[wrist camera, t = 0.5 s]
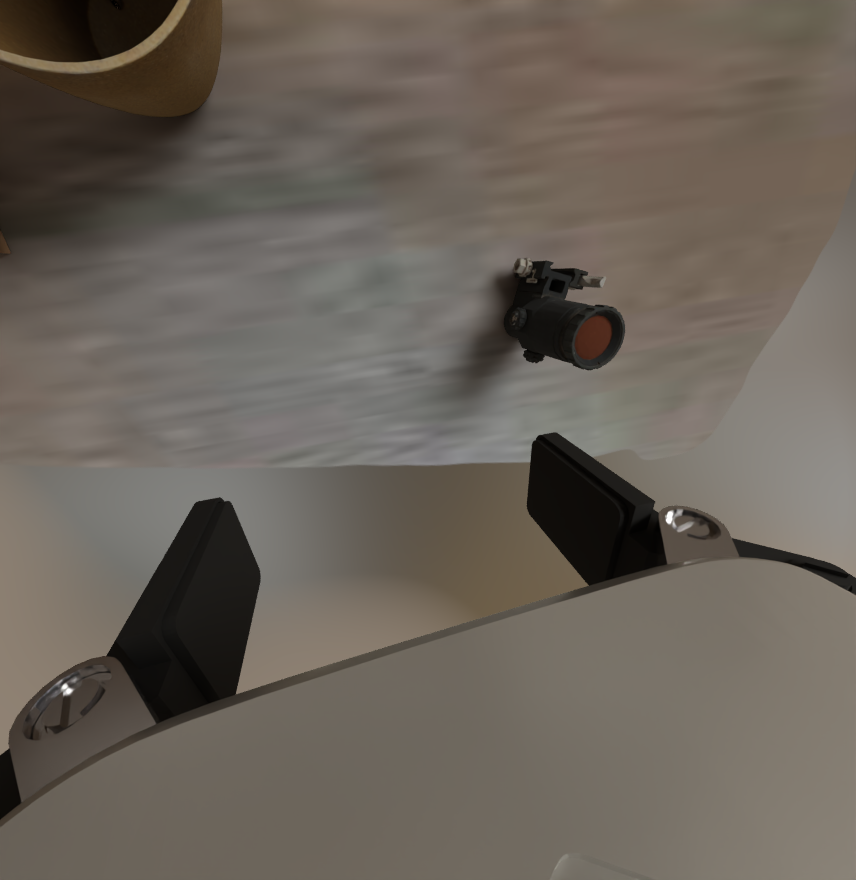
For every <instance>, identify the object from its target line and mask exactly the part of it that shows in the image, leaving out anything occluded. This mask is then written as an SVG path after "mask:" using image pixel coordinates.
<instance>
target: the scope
mask: <svg viewBox="0 0 856 880" xmlns="http://www.w3.org/2000/svg"><path fill="white" fill-rule="evenodd" d="M552 264H553V262H550V261H534V262H531V259H528V258H524V259H517V261H516V262H515V264H514V268H513V270H514V272H515V273H516V275H515V277H516V278H522V279H521V281H520V283H519V285H518V289H517V292H516V295H515V299H514V302H513V305H512V306H511V307H510V308H509V309H508V311H507V313H506V315H505V318H504V327H505V330H506V332H507V333H508V334H509V335H510V336H512V337H515V338H518V340H519V342H520V344H521V346H522V348H524V349H527V350H525V351H524V354H523V356H524V357H525V358H526V360H527V361H529V362H532V363H533V362H535V363H538V362H539V361H543V358H544V357H545V356H549V357H552V358H555V359H558V360H561V361H565V362H568V363H572V364H573V366H576V367H578V368H581V369H586V370H593V369H598V368H600V367H602V366H603V365H605V364H607V363H608V362H609V361H611V359H612V358H613V357H614V356H615V355H616V354H617V352H618V351H619V349H620V347H621V345H622V343H623V339H624V334H625V324H624V320H623V318H622V315H621V313H620V312H618V311H617V309H616V308H614V307H609V306H607V305H595V306H591V305H587V304H582V303H577V302H571V301H566V300H564V299H565V298H566V295H567V292H568V289H571V290H575V289H583V287H597V288H602V287H603V284H604V282H605V279H606V277H590V276H587V275H588V272H586V271H582V270H579V269H576V268H569V269H551V268H550V266H551V265H552ZM582 275H583V276H582ZM544 355H545V356H544Z"/></svg>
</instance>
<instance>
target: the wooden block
mask: <svg viewBox="0 0 856 880" xmlns="http://www.w3.org/2000/svg"><path fill="white" fill-rule="evenodd" d="M0 253H9V254H11V252H10V250H9V248H8V246H7V243H6V241H5V239H4V237H3V234H2V232H1V230H0Z"/></svg>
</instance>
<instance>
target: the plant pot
mask: <svg viewBox="0 0 856 880" xmlns="http://www.w3.org/2000/svg"><path fill="white" fill-rule="evenodd" d="M113 1H116V2H117V3H118V4H119V7H120V9H117V8H116V7H115V6H114V4H113ZM221 39H222V0H0V64H1V65H3V66H6V67H8V68H10V69H12V70H14V71H16V72H19V73H21V74H23V75H25V76H27V77H30V78H32V79H34V80H37V81H39V82H41V83H44V84H46V85H48V86H51V87H53V88H56V89H58V90H61V91H63V92H66V93H68V94H71V95H74V96H76V97H79V98H82V99H85V100H88V101H91V102H93V103H96V104H99V105H103V106H106V107H110V108H113V109H117V110H121V111H125V112H129V113H133V114H138V115H145V116H154V117H174V116H181V115H185V114H188V113H191V112H193V111H194V110H196V109H197V108H199V107H200V106H201V105H202V104H203V103H204V102H205V101H206V99H207V98H208V96H209V94H210V92H211V90H212V88H213V85H214V82H215V79H216V75H217V71H218V66H219V60H220V52H221Z"/></svg>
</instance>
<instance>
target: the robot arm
mask: <svg viewBox="0 0 856 880" xmlns="http://www.w3.org/2000/svg"><path fill="white" fill-rule="evenodd" d="M654 503H655V501H654V500H652V499H651V498H649V497H648V496H647V495H645V494H644V493H642V492H641V491H639V490H638V489H636V488H635V487H634V486H632V485H631V484H629V483H628V482H627V481H625V480H624V479H622V478H621V477H619V476H618V475H617V474H615V473H614V472H612V471H611V470H609V469H608V468H606V467H605V466H604V465H602V464H601V463H599V462H598V461H596V460H595V459H594V458H592V457H591V456H589V455H588V454H586V453H585V452H584V451H582V450H581V449H579V448H578V447H576V446H575V445H574V444H572V443H571V442H569V441H568V440H566V439H565V438H564V437H562V436H561V435H559V434H558V433H556V432H555V433H549V434H544V435H539V436H538V437H537V438H536V440H535V441H533V443H532V451H531V462H530V474H529V486H528V497H527V509H528V512H529V514H530V515H531V517H532V518H533V519H534V520H535V522H536V523H537V524H538V525H539V526H540V528H541V529H542V530H543V531H544V532H545V534H546V535H547V536H548V537H549V538H550V539H551V541H552V542H553V543H554V544H555V546H556V547H557V548H558V549H559V550H560V552H561V553H562V554H563V555H564V556H565V558H566V559H567V560H568V561H569V562H570V564H571V565H572V566H573V567H574V568H575V570H576V571H577V572H578V573H579V574H580V575H581V577H582V578H583V579H584V580H585V582H586V583H587V584H588V585H589V586H587V587H584V588H580V589H577V590H573V591H570V592H567V593H563V594H560V595H557V596H553V597H550V598H547V599H543V600H540V601H536V602H533V603H530V604H526V605H523V606H520V607H516V608H513V609H510V610H506V611H503V612H500V613H497V614H493V615H490V616H487V617H483V618H480V619H477V620H473V621H470V622H467V623H463V624H460V625H457V626H454V627H450V628H447V629H444V630H440V631H437V632H434V633H431V634H427V635H424V636H421V637H417V638H414V639H411V640H408V641H404V642H401V643H398V644H395V645H392V646H388V647H385V648H382V649H378V650H375V651H372V652H369V653H366V654H362V655H359V656H356V657H353V658H349V659H346V660H343V661H340V662H337V663H333V664H330V665H327V666H324V667H321V668H317V669H314V670H311V671H308V672H304V673H301V674H298V675H295V676H292V677H288V678H285V679H282V680H279V681H276V682H273V683H270V684H267V685H264V686H261V687H258V688H255V689H252V690H249V691H246V692H243V693H240V694H236V690H237V686H238V681H239V677H240V672H241V668H242V663H243V659H244V654H245V649H246V645H247V640H248V636H249V631H250V626H251V622H252V617H253V613H254V608H255V603H256V599H257V594H258V590H259V585H260V570H259V567H258V565H257V562H256V560H255V557H254V555H253V553H252V550H251V548H250V546H249V544H248V541H247V539H246V536H245V534H244V531H243V529H242V527H241V524H240V522H239V520H238V517H237V515H236V513H235V510H234V508H233V505H232V503H231V502H230V501H225V502H224V500H223V499H222V498H220V497H219V498H215V499H209V500H204V501H198V502H196V503H195V504H194V506H193V507H192V509H191V511H190V513H189V514H188V516H187V518H186V520H185V521H184V523H183V525H182V526H181V528H180V530H179V532H178V533H177V535H176V537H175V539H174V540H173V542H172V544H171V546H170V547H169V549H168V551H167V552H166V554H165V556H164V558H163V560H162V561H161V563H160V564H159V566H158V568H157V570H156V571H155V573H154V574H153V576H152V578H151V580H150V581H149V583H148V585H147V587H146V588H145V590H144V592H143V593H142V595H141V597H140V599H139V600H138V602H137V604H136V606H135V608H134V609H133V611H132V613H131V614H130V616H129V618H128V619H127V621H126V623H125V625H124V626H123V628H122V630H121V632H120V633H119V635H118V637H117V639H116V640H115V642H114V644H113V645H112V647H111V649H110V651H109V652H108V654H107V656H102V657H98V658H93V659H89V660H87V661H85V662H82V663H80V664H77V665H75V666H73V667H72V668H70V669H68V670H67V671H65V672H63V673H62V674H60V675H59V676H57V677H56V678H55V679H53V680H52V681H51V682H49V683H48V684H47V685H46V686H44V687H43V688H42V689H41V690H40V691H39V692H38V693H37V694H36V695H35V696H34V697H33V698H32V699H31V700H30V701H29V702H28V703H27V704H26V705H25V707H24V708H23V709H22V711H21V712H20V713H19V715H18V716H17V717H16V719H15V721H14V723H13V725H12V728H11V729H10V732H9V743H8V744H9V749H8V750H7V751H5V752H4V753H3V754H1V755H0V880H856V578H855V577H853V576H852V575H850V574H848V573H847V572H845V571H844V570H843V569H841V568H839V567H837V566H835V565H833V564H831V563H828V562H825V561H821V560H817V559H814V558H810V557H806V556H802V555H798V554H794V553H790V552H786V551H782V550H778V549H774V548H770V547H766V546H762V545H757V544H753V543H749V542H745V541H741V540H737V539H733V538H731V536H730V533H729V531H728V530H727V528H726V527H725V525H724V524H722V523H721V522H720V521H719V520H718V519H716V518H715V517H713V516H711V515H709V514H708V513H705V512H703V511H700V510H698V509H694V508H690V507H685V506H668V507H666V508H663V509H662V510H661V511H660V512H659V513H658V512H656V511H655V510H653V507H654Z"/></svg>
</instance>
